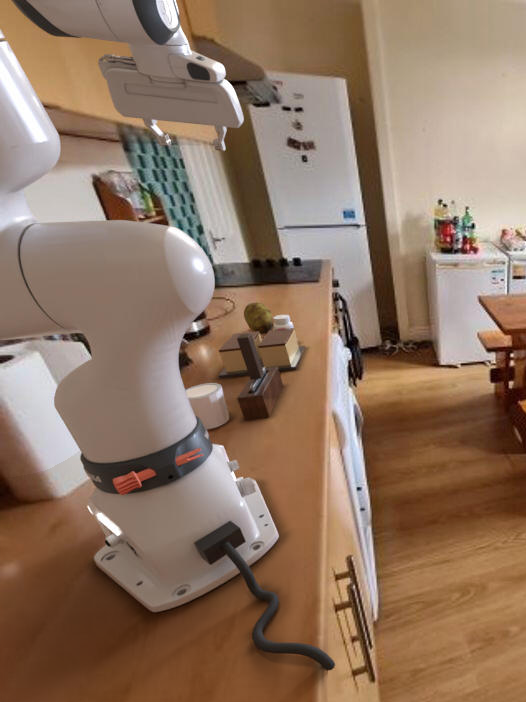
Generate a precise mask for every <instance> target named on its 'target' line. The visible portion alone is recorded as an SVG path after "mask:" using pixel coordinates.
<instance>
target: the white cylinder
mask: <svg viewBox="0 0 526 702" xmlns="http://www.w3.org/2000/svg"><path fill="white" fill-rule="evenodd" d="M185 391H186V394H187V397H188V399H189V402H190V405H191V407H192V410H193V412H194V415H195V416H197V417H199V418H200V420H201V422H202V424H203V425H204V426H205V427H206V429H207V430H212V429H216V428H218V427H221V426H223V425H224V424H227V422H228V421H229V420H230V414H229V410H228V407H227V402H226V398H225V395H224V389H223V386H222V385H221V384H220V383H216V382H207V383H206V382H205V383H200V384H197V385H194V386H191V387H188V388H185Z"/></svg>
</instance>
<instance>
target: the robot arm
mask: <svg viewBox="0 0 526 702" xmlns="http://www.w3.org/2000/svg"><path fill="white" fill-rule="evenodd" d="M11 2H12V4H14V6H15V7H16V8H17V9H18V10H19V12H20V13H22V15H23V16H25V17H26V18H27V19H28V20H29V21H30V22H31V23H33V24H34V25H35V26H36V27H38V28H39V29H41V30H42V31H44V32H45V33H47V34H48V35H50V36H53V37H58V38H74V39H75V38H76V39H78V38H79V39H82V38H84V39H92V40H100V41H108V42H116V43H123V44H127V46H128V48H129V51H130V55H131V56H127V55H114V54H113V53H112V54H111V53H104V54H103V56H100V57H99V58H98V60H97V65H98V68H99V71H100V73H101V75H102V77H103V78H104V80H105V81H106V84H107V88H108V93H109V95H110V98H111V101H112V104H113V107H114V109H115V111H116V112H117V113H119V114H120V115H121V116H122V117H124V118H132V119H142V121H143V123H144V126H145V127H146V128H147V129H148V130H149V131H150V132H151V133H152V134H153V135H154V136H155V137H156V139H157V142H158V144H159V146H162V147H170V146H172V140H171V139H170V135H169V134H168V133H163V131H162V130H161V129H160V127H158V125H156V124H158V121H161V122H162V121H163V122H172V123H180V124H181V123H182V124H191V125H192V124H194V125H200V126H201V125H203V126H213V127H214V129H215V132H216V133H219V134H218V137H217V138H214V139H213V140H212V144H213V146H214V150H215V151H221V152H225V151H226V150H227V149H226V144H225V138H226V134H227V131H228V128H233V129H238V128H240V127H241V126H242V125H243V123H244V122H245V117H244V113H243V109H242V106H241V104H240V100H239V98H238V96H237V95H238V94H237V93H236V90H235V88H234V87H233V85H232V84H231V83H230V82H229V81H228V80H227V79H225V77H226V76H227V72H226V67H225V66H224V65H223V63H221V62H219V61H217V60H214V59H212V58H209V57H207V56H205V55H203V54H200V53H198V52H196V51H194V50H192V49H191V48H190V43H189V41H188V38H187V36H186V35H185V33H184V31H183V28H182V25H181V18H180V11H179V7H178V3H177V0H11ZM5 38H6V37H5V35H4V33H3V31H2V29H0V341H8V340H9V341H10V340H18V339H19V340H20V339H31V338H40V337H50V336H60V335H70V334H82V335H83V336H84V338H86V340H87V342H88V345H89V349H90V355H91V358H90V359H89V360H88V359H87V360H86V361H85V362H83V363H82V364H80V365H79V366H78V367H75V368H74V369H73V370H72V371H70V372H69V373H68V374H66V375H65V376H64V377H63V378H62V379H61V380H60V382H59V383H58V385H57V386H56V389H55V392H54V397H53V405H54V409H55V410H56V412H57V414H58V415H59V417H60V418H61V420H62V422H63V424H64V425H65V428H67V430H68V432H69V433H70V435H71V437H72V438H73V440H74V442H75V444H76V445H77V447H78V449H79V450H80V452H81V453H80V455H79V456H80V458H79V459H80V462H81V464H82V468H83V470H84V473H85V474H86V475H87V476H88V477H89V479H90V480H91V482H92V484H93V485H94V486H95V488H94V490H93V492H92V493H91V495H90V496H89V497H88V500H87V501H86V505H87V508H88V510H89V512H90V513H91V514H92V515H93V517H94V519H95V520H96V522H97V524H98V525H99V527H100V529H101V530H102V531H103V533H104V535H105V538H104V543H105V545H104V546H103V547H101V548H100V549H99V550H98V551H96V553H95V554H94V556H93V561H94V563H95V565H96V567H98V568H99V569H100V570H101V571H102V572H103V573H105V574H106V575H107V576H108V577H109V578H111V579H112V580H113V581H114V582H115V583H116V584H117V585H118V586H120V587H121V588H122V589H123V590H125V592H127V593H128V594H129V595H130V596H131V597H133V598H134V599H135V600H136V601H137V602H139V603H140V605H142V606H144V608H146V609H147V610H149V611H150V612H151V613H159V612H163V611H167V610H170V609H173V608H176V607H179V606H182V605H184V604H186V603H189V602H191V601H193V600H196V599H197V598H199V597H201V596H203V595H205V594H207V593H209V592H211V591H212V590H214V589H216V588H218V587H219V586H221V585H223V584H224V583H227V582H228V581H229V580H231V579H232V578H234V577H236V576H237V575H238V574H240V575H241V576H242V578H243V580H244V582H245V584H246V586H247V588H248V590H249V592H250V593H251V595H252V596H253V597H255V598H256V599H259V600H261V601H267V602H268V606H267V607H266V609H265V610H264V612H263V613H262V614H261V615H260V617H259V618H258V619H257V621H256V623H255V624H254V626H253V629H252V631H251V632H252V633H251V638H252V641H253V643H254V645H255V646H256V647H257V649H259V650H261V651H262V652H264V653H269V654H277V655H278V654H284V655H286V654H289V655H299V656H300V655H301V656H304V657H308V658H310V659H312V660H313V661H315V662H317V663H318V664H319V665H320V666H321V667H322V668H323V669H324V670H326V671H332V670H333V669H334V668H335V666H336V663H335V661H334V660H333V658H332V657H331V656H330V655H328V654H327V653H326V652H325V651H324V650H322V649H320V648H318V647H316V646H314V645H312V644H307V643H301V642H278V641H277V642H276V641H272V640H269V639H267V638H265V636H264V633H263V630H264V628H265V626H266V625H267V624H268V622H269V621H270V619H271V618H272V617H273V615H274V614H275V612H276V611H277V608H278V606H279V602H280V601H279V596H278V595H277V593H275V592H273V591H269V590H264V589H263V588H262V587H261V586H260V585H259V584H258V582H257V580H256V578H255V575H254V573H253V571H252V569H251V568H250V566H252V565H253V564H254V563H255V562H257V561H258V560H260V559H261V558H262V557H263V556H264V555H266V553H268V551H270V550H271V548H272V547H273V546H274V545H275V544H276V543H277V541H278V540H279V538H280V535H279V532H278V529H277V527H276V524H275V521H274V519H273V517H272V515H271V512H270V510H269V508H268V505H267V503H266V501H265V499H264V496H263V494H262V492H261V489H260V486H259V485H258V483H257V481H256V480H255V478H254V479H253V478H251V476H248V477H247V476H246V477H244V476H239V477H237V476H236V474H235V472H234V471H237V470H239V469H240V465H239V462H238V461H237V459H233V460H231V461H230V460H229V457H228V455H227V454H228V453H227V451H226V449H225V446H224V445H223V444H222V445H221V444H219V443H218V444H217V443H213V442H212V440H211V438H210V435H209V432H208V429H206V427H205V426H204V425H203V424H202V422H201V420H200V418H199V417H197V416H195V415H194V412H193V410H192V407H191V405H190V402H189V399H188V397H187V394H186V391H185V390H186V388H185V385H184V382H183V379H182V375H181V371H180V364H179V360H180V359H179V356H180V348H181V344H182V341H183V339H184V336H185V334H186V332H187V330H188V329H189V327H190V326H191V325H192V323H193V322H194V321H195V320H196V319H197V318H198V317H199V316H200V315H202V313H203V312H204V311H205V310H206V309H207V307H208V306H209V304H210V302H211V300H212V299H213V297H214V293H215V286H216V285H215V284H216V280H215V279H216V278H215V277H216V276H215V272H214V268H213V266H212V263H211V260H210V259H209V257H208V255H207V254H206V252H205V251H204V249H203V248H202V247H201V246H200V245H199V244H198V242H196V240H195V239H194V238H192V237H191V236H190V235H189V234H187V233H186V232H185V231H183V230H181V229H180V228H178V227H176V226H171V225H167V224H166V225H164V224H159V223H158V224H157V223H151V222H143V221H137V220H136V221H135V220H128V219H127V220H125V219H111V220H110V219H109V220H84V221H83V220H82V221H58V222H57V221H54V222H53V221H52V222H44V221H39V220H38V218H36V216H35V215H34V214H33V212H32V211H31V209H30V207H29V204H28V202H27V198H26V195H25V188H27V187H28V186H31V185H32V184H34V183H35V182H37V181H38V180H40V179H42V178H43V177H44V176H45V175H47V174H48V173H49V172H51V170H52V169H54V167H55V166H56V165H57V163H58V162H59V159H60V157H61V138H60V134H59V132H58V130H57V129H56V127H55V125H54V123H53V121H52V120H51V117H50V116H49V114H48V112H47V110H46V108H45V107H44V105H43V104H42V101H41V100H40V97H39V95H38V94H37V92H36V90H35V89H34V87H33V85H32V83H31V82H30V80H29V78H28V76H27V74H26V73H25V70H24V69H23V67H22V66H21V63H20V62H19V60H18V58H17V56H16V54H15V52H14V51H13V49H12V47H11V46H10V44H9V42H8V40H7V39H5Z"/></svg>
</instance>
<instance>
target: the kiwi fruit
mask: <svg viewBox="0 0 526 702" xmlns="http://www.w3.org/2000/svg"><path fill="white" fill-rule="evenodd" d="M272 314H273V313H272V312H271V310H270V309H269V308H268V307H267V306H266V305H265V304H264V303H262V302H261V303H260V302H256V301H255V302H252V303H248V304H247V305H246V306H245V307H244V309H243V318H244V320H245V322H246V324H247V326H248V328H249V329H250V330H251V332H257V331H259V332H260V335H261V334H264V335H266V334H267V333H268V331H269V330H274V325H275V323H274V319H273V315H272Z"/></svg>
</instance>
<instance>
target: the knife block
mask: <svg viewBox="0 0 526 702" xmlns="http://www.w3.org/2000/svg"><path fill="white" fill-rule="evenodd" d="M265 370H266V373H267V374H266V376H265V378H264V380H263V381H262V383H261V385H260V386H259V388H258V390H257V392H256V393H251V391H250V386H251V384H252V383H253V381H254V380H255V379H253V380H251V379H250V378H249V379H248V380H247V382H246V384H245V386H244V387H243V389H242V390H241V391H240V393H239V395H238V396H237V398H236V399H237V403H238V405H239V407H240V410H241V413H242V416H243V418H244V421H251V420H256V419H265V418H269V417H270V416H271V415H272V412H273V411H274V409H275V405H276V403H277V402H278V399H279V397H280V396H281V393H282V390H283V388H284V384H283V381H282V377H281V374H280V373H281V372H280V371H279V370H278V367H271V368H265Z"/></svg>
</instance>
